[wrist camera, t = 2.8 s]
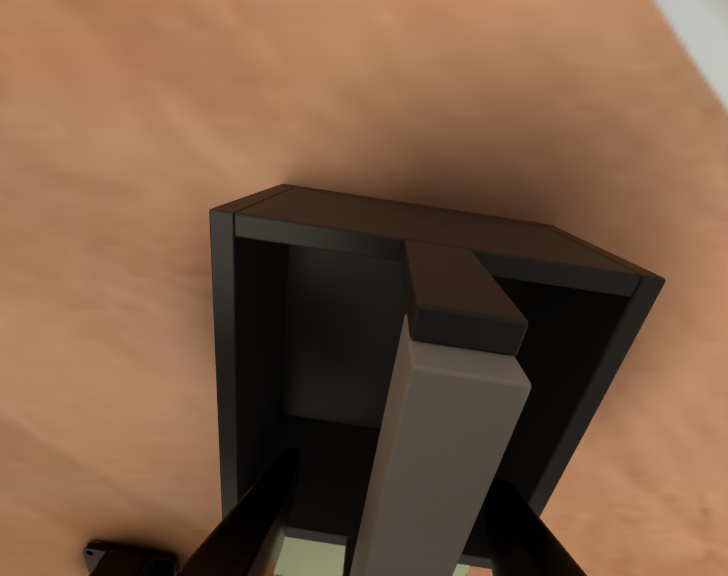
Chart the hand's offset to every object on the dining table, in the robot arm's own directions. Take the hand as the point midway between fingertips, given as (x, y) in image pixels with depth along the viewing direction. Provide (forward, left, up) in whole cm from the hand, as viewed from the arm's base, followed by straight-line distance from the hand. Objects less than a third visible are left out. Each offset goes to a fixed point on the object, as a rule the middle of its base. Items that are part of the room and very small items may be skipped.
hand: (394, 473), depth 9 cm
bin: (0, 0, -7) cm, 7 cm away
